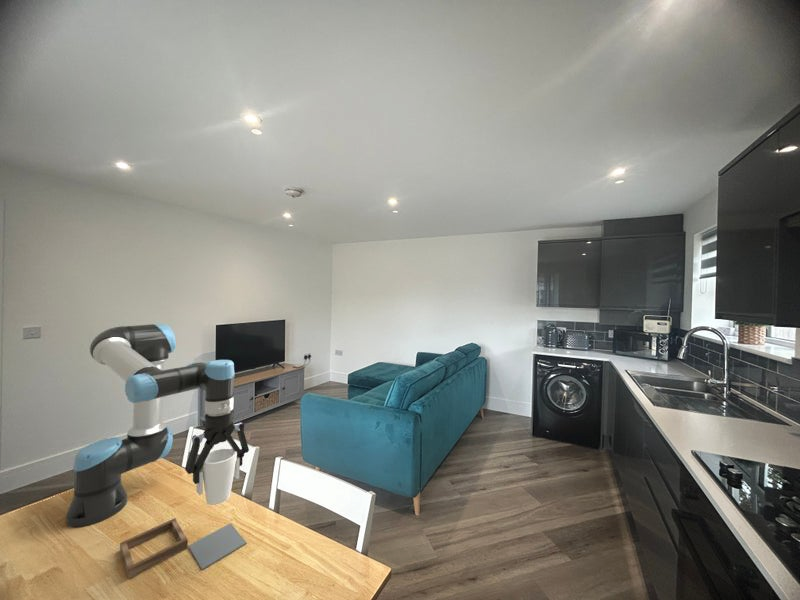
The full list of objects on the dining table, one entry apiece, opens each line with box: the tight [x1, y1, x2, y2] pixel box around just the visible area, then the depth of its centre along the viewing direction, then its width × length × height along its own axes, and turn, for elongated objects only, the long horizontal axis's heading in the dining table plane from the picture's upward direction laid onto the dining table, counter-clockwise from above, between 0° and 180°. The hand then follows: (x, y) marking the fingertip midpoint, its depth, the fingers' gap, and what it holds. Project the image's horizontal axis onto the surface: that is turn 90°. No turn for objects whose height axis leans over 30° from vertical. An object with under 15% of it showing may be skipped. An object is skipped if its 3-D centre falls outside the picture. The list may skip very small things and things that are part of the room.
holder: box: [119, 517, 189, 580], centre depth 90 cm, size 13×13×2 cm
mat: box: [188, 523, 247, 571], centre depth 92 cm, size 12×12×1 cm
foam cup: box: [201, 447, 237, 505], centre depth 92 cm, size 10×9×13 cm
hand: (218, 484), depth 92 cm, fingers closed on foam cup, 9 cm apart
